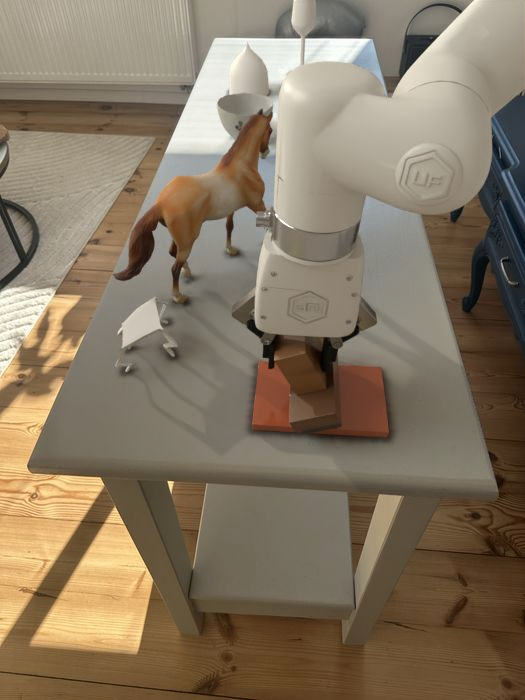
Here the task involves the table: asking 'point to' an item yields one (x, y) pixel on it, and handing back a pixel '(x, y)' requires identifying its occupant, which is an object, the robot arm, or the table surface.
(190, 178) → the horse figurine
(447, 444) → the table surface
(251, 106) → the teacup
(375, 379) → the tile
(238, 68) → the teardrop
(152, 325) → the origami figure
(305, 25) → the champagne flute
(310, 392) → the brown stepped block
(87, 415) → the table surface
